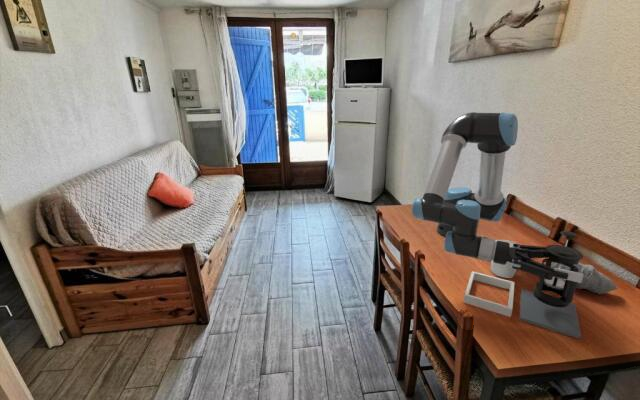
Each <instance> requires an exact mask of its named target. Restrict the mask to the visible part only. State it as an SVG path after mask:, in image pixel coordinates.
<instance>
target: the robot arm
mask: <svg viewBox="0 0 640 400" xmlns="http://www.w3.org/2000/svg"><path fill="white" fill-rule="evenodd" d="M518 127H519V122H518V117H517V115H516V114H514V113H508V112H507V113H506V112H473V111H472V112H467V113H464V114H461V115H459V117H456V118H455V119H454V120H453V121H452V122H451V123H450V124H449V125H448V126H447V127H446V129H445V130H444V132H443V133H442V136H441V139H440V144H441V147H440V150H439V152H438V154H437V157H436V160H435V163H434V166H433V169H432V170H431V173H430V177H429V179H428V182H427V185H426V187H425V190H424V193H423V195H422V197H416V198H415V199H414V201H413V202H412V206H411V214H412V216H413V217H414V218H416V219H419V220H421V221H428V222H432V223H438V224H437V227H436V232H437V231H438V232H437V233H438V234H439V235H441V236H443V237H445V238H444V243H443V249H444V251H446V252H448V253H451V254H455V255H457V256H458V255H459V256H464V257H468V258H474V259H478V260H481V261H482V262H483V261H487V262H491V261H492V260H493V262H494V263H498V264H502V265H505V264H506V263H507V262H511V263H513V265H512V268H513V269H516V270H519V271H522V272H525V273H528V274H530V275H533V276H535V277H536V276H537V277H542V278H544V279H547V280H552V278H553V277H557V278H561V279H566V280H570V281H574V282H579V283H581V282H582V278H583V273H578V272H574V271H569V270H564V269H560V268H554V269H553V268H550V267H548V266H546V265H543V264H542V262H540V261H536V260H534V259H546V258H549V257H547V255H546V253H547V250H546V246H539V245H529V244H528V245H527V244H519V243H518V244H513V247H510V244H509V243H508V242H503V241H497V242H495V241H496V240H495V239H492V238H489V237H488V238H487V237H482V236H478V235H477V233H478V228H479V222H480V220H484V221H487V222H495V223H497V222H500V221H501V220H502V217H503V215H504V211H505V209H506V206H507V202H508V198H507V197H504V193H503V192H502V191H501V189H502V181H503V174H504V168H505V167H504V166H505V161H506V160H505V159H506V152H508V151H509V150H510V149H511V148H512V146H513V147H514V146H515V145H516V143H517V139H518V131H519V130H518ZM467 143H470V144H477V149H478V150H479V152H480V163H479V165H480V166H479V177H478V178H479V180H478V182H479V183H478V190H476V191H475V192H473V191H472V189H471V188H468V187H459V186H457V187H451V188H450V185H451V183H452V179H453V176H454V173H455V172H456V167H457V165H458V161H459V159H460V156H461V153H462V150H463V149H465V148H466V147H467V145H468V144H467Z"/></svg>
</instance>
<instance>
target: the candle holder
mask: <svg viewBox="0 0 640 400" xmlns="http://www.w3.org/2000/svg"><path fill="white" fill-rule="evenodd" d="M497 241H503V242H508V243H509V244H510V247H513V244H519V243H518V242H515V241H512V240H508V239H496V240H495V242H497ZM490 262H491V263H490V272H491V273H493V275H495V276H498V277H500V278H504V279H511V278H513V277H514V276H516V272H517V269H513V268H512V265H513V263H511V262H507V263H506V264H505V265H502V264H498V263H494V262H493V260H491V261H490Z"/></svg>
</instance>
